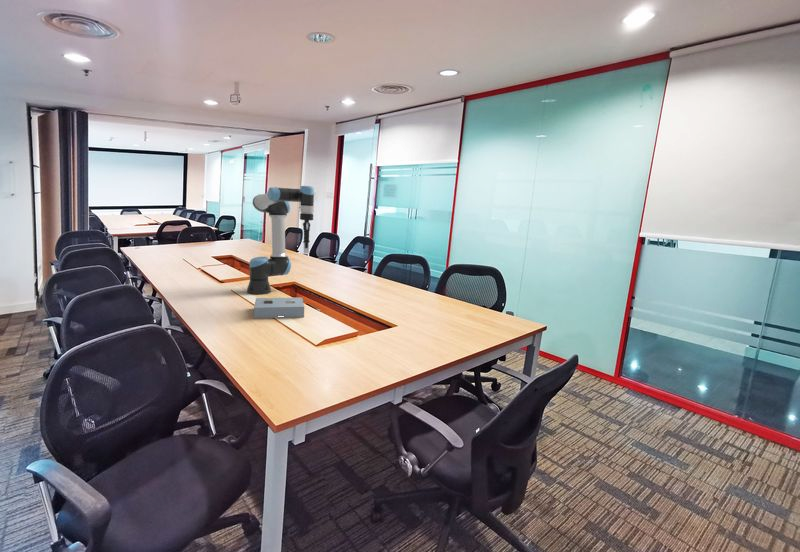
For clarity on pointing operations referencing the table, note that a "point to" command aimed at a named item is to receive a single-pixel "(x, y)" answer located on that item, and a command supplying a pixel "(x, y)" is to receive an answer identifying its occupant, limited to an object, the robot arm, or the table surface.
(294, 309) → the socket block
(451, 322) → the table surface
